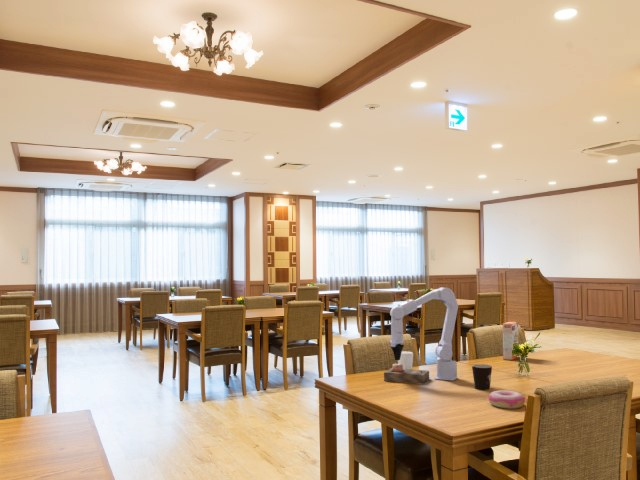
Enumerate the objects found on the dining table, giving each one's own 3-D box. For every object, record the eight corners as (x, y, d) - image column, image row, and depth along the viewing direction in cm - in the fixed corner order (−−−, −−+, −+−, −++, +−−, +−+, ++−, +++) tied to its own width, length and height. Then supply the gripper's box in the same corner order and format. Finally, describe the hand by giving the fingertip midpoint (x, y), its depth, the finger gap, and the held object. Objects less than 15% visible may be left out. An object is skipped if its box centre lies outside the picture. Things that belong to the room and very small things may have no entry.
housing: (429, 379, 267) (429, 370, 267) (423, 384, 256) (423, 375, 257) (391, 376, 275) (391, 368, 275) (384, 380, 264) (384, 372, 264)
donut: (484, 407, 215) (484, 394, 215) (494, 399, 226) (494, 387, 227) (520, 412, 208) (519, 398, 208) (528, 404, 219) (528, 391, 219)
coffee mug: (482, 391, 240) (481, 368, 241) (468, 387, 248) (467, 365, 248) (501, 388, 246) (501, 366, 246) (487, 384, 253) (487, 363, 254)
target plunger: (404, 371, 269) (404, 364, 269) (401, 373, 264) (401, 365, 265) (394, 370, 271) (394, 363, 271) (391, 372, 267) (391, 365, 267)
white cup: (396, 372, 283) (395, 353, 284) (399, 370, 291) (399, 351, 291) (411, 373, 280) (411, 354, 281) (414, 371, 288) (414, 351, 288)
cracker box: (513, 360, 315) (512, 323, 316) (502, 359, 318) (501, 323, 319) (519, 357, 327) (518, 321, 328) (509, 356, 330) (508, 321, 331)
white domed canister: (422, 379, 265) (422, 371, 265) (419, 381, 261) (419, 373, 261) (412, 378, 267) (412, 371, 267) (409, 380, 263) (409, 372, 263)
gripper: (393, 329, 277) (393, 357, 276) (384, 333, 264) (384, 361, 263) (407, 330, 274) (407, 357, 273) (398, 333, 261) (399, 362, 260)
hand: (397, 359), depth 268 cm, fingers closed
